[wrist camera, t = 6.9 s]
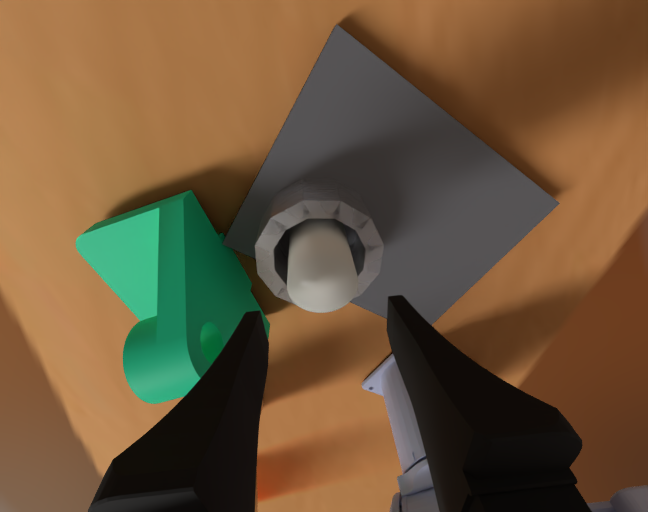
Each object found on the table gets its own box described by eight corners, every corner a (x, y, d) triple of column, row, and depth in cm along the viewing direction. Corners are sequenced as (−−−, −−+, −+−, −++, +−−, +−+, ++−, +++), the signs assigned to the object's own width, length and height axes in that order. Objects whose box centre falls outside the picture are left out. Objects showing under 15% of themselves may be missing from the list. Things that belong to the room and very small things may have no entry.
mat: (549, 197, 22) (559, 203, 21) (417, 326, 28) (421, 334, 27) (334, 26, 16) (336, 24, 15) (225, 236, 22) (222, 244, 21)
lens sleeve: (392, 213, 20) (407, 239, 17) (332, 289, 23) (337, 322, 20) (296, 156, 18) (295, 174, 15) (244, 248, 21) (235, 279, 18)
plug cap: (354, 221, 20) (372, 274, 15) (325, 261, 22) (333, 321, 17) (307, 195, 19) (310, 243, 14) (280, 239, 21) (274, 296, 16)
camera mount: (92, 220, 21) (-61, 337, 12) (196, 183, 20) (114, 280, 11) (188, 338, 27) (135, 472, 18) (270, 314, 26) (256, 442, 17)
